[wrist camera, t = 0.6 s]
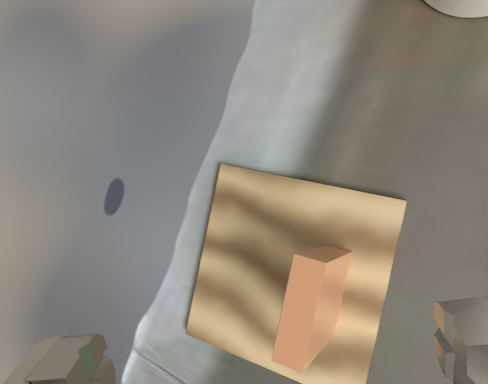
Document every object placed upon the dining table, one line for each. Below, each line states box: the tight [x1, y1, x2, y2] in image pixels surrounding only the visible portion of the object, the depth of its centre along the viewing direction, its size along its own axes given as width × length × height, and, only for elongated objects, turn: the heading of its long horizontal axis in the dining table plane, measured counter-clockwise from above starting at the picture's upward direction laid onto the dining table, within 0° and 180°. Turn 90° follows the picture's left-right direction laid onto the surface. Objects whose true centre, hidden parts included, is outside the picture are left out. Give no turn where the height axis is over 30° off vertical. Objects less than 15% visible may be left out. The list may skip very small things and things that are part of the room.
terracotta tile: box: [271, 245, 353, 373], centre depth 42 cm, size 10×3×13 cm, turn 167°
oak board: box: [186, 164, 407, 384], centre depth 51 cm, size 24×24×1 cm
